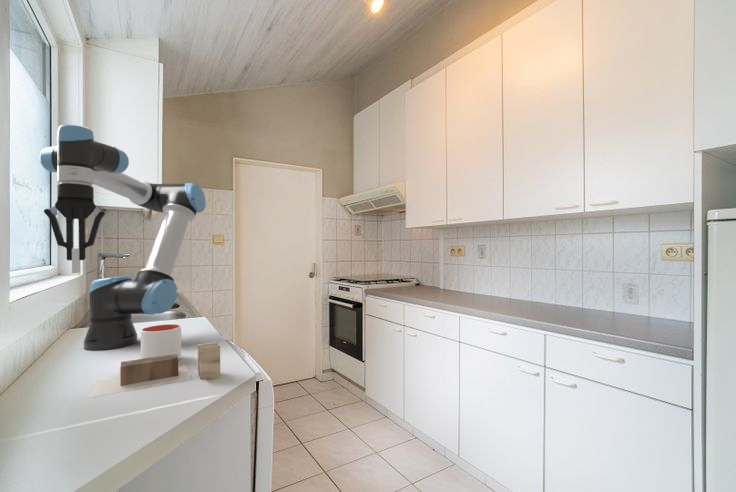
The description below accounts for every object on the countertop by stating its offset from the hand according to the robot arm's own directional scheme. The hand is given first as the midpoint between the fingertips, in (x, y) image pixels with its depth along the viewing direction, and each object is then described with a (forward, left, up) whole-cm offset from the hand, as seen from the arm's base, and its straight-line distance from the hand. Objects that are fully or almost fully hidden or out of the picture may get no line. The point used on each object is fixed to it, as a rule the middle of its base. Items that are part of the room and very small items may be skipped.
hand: (76, 272), depth 97 cm
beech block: (+24, +29, -27) cm, 46 cm away
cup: (+4, +20, -27) cm, 33 cm away
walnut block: (+18, +10, -24) cm, 31 cm away
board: (+18, +15, -26) cm, 35 cm away
